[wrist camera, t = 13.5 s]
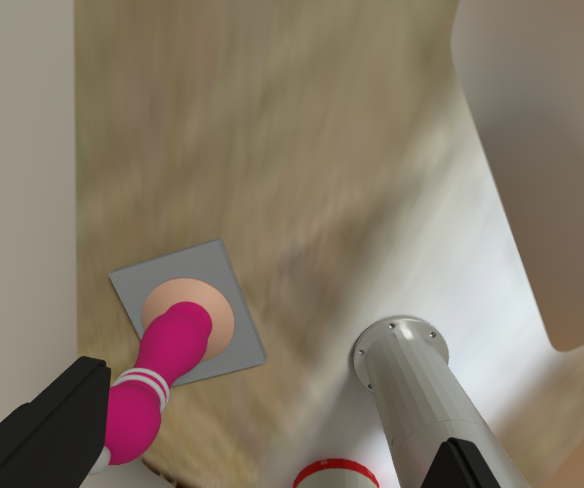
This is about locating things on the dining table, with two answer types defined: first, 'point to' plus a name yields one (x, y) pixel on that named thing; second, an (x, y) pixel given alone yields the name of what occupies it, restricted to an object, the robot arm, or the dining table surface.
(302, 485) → the kitchen timer
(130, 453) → the pepper mill
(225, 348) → the slate board
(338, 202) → the dining table surface
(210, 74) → the dining table surface
